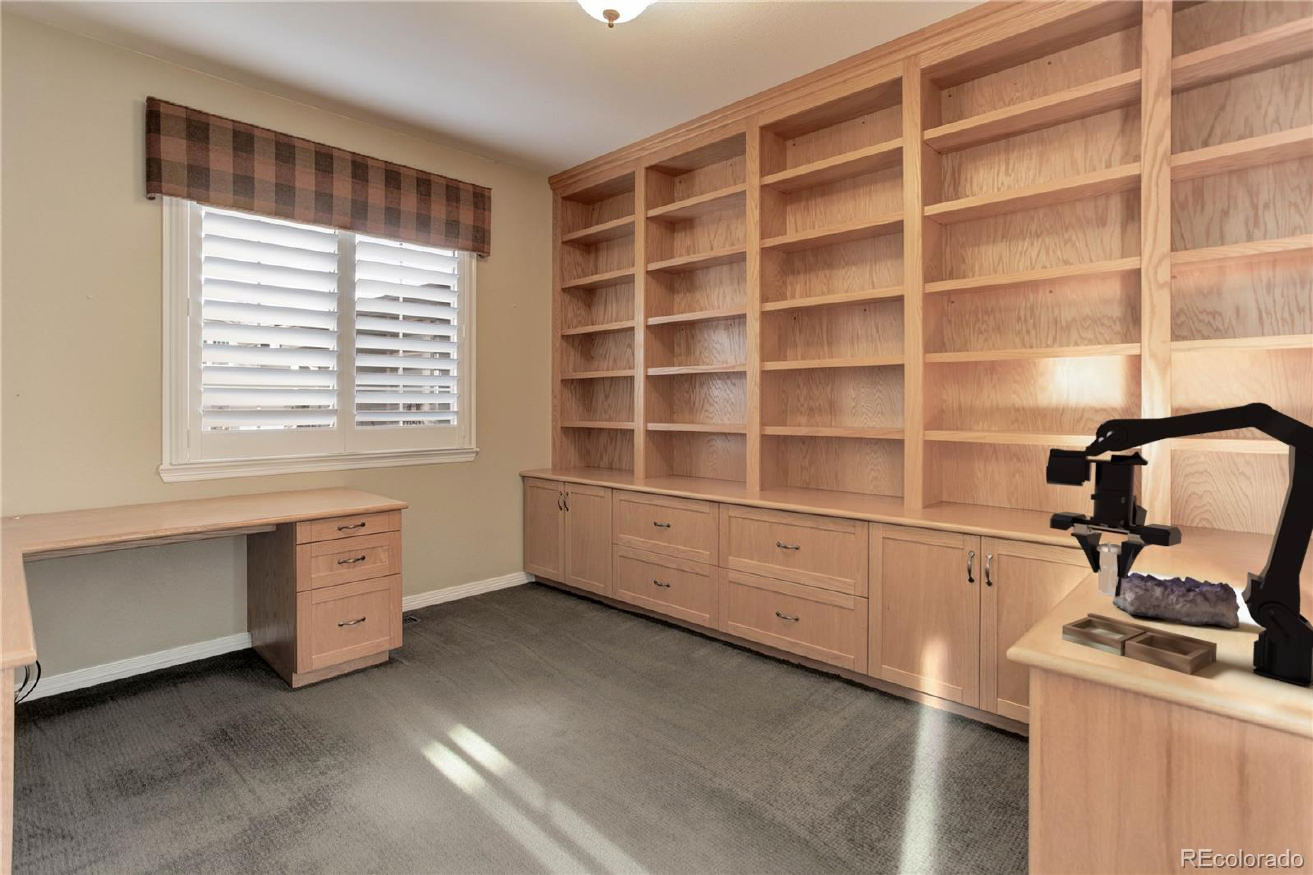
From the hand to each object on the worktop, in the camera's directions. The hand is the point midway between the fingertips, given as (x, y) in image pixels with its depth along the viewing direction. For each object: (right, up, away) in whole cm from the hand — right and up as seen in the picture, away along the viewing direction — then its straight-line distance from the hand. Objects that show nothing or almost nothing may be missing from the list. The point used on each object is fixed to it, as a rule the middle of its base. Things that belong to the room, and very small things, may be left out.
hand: (1109, 575), depth 115 cm
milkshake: (0, -4, 0) cm, 4 cm away
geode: (+24, -12, +15) cm, 30 cm away
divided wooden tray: (+2, -13, -3) cm, 13 cm away
